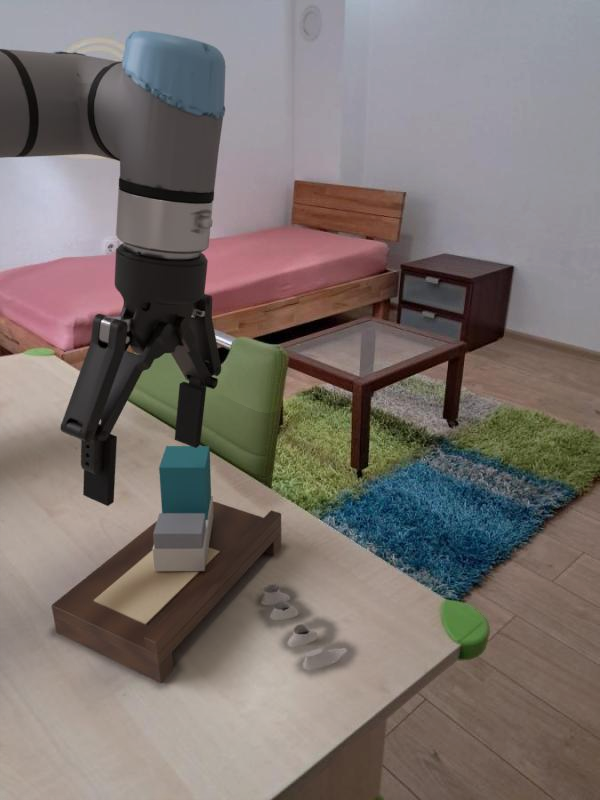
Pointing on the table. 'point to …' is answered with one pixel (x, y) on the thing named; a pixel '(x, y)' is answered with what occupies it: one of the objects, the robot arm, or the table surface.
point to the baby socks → (299, 630)
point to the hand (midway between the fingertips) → (147, 468)
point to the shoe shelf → (161, 593)
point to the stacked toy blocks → (184, 510)
